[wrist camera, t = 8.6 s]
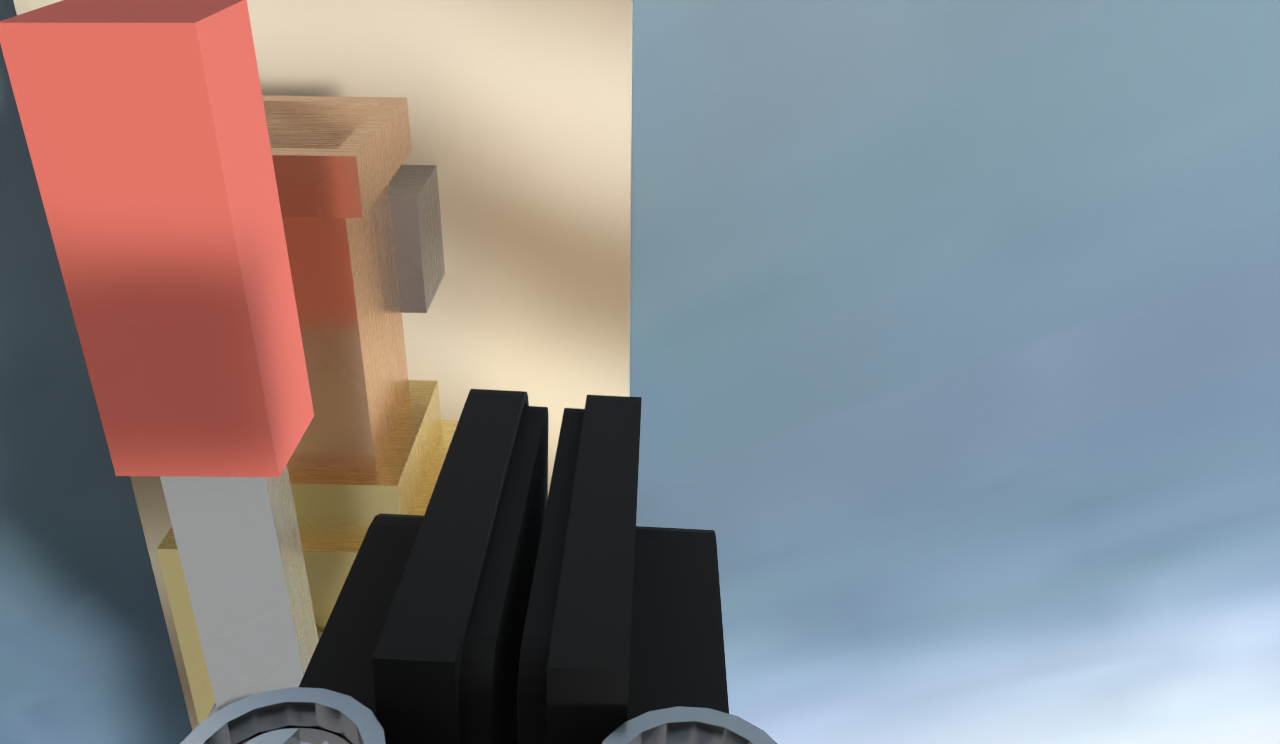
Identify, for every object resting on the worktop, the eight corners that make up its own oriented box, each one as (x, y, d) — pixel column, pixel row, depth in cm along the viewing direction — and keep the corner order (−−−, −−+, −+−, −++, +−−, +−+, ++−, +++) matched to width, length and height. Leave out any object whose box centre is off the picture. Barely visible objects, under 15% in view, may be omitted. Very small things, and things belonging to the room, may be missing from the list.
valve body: (499, 789, 31) (465, 993, 26) (331, 785, 31) (262, 988, 26) (449, 77, 22) (381, 166, 16) (209, 74, 22) (63, 161, 16)
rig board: (626, 829, 33) (625, 863, 32) (236, 821, 33) (222, 854, 32) (632, -89, 21) (631, -83, 20) (23, -97, 21) (-10, -92, 20)
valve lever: (379, 730, 21) (349, 828, 19) (247, 729, 21) (203, 826, 19) (265, -7, 15) (203, 22, 13) (78, -8, 15) (-14, 23, 13)
